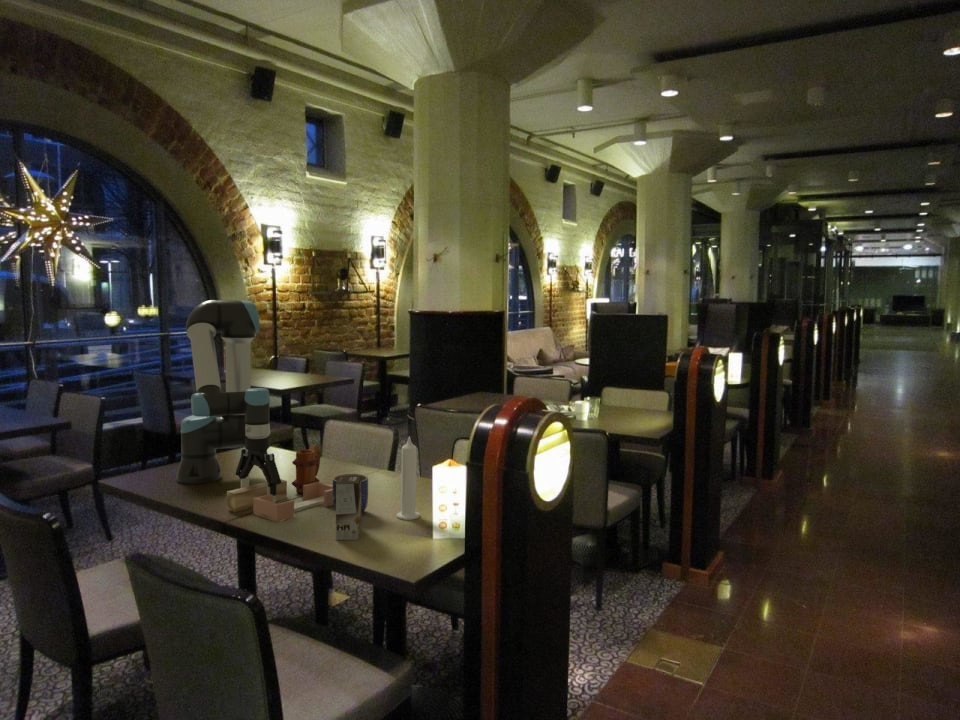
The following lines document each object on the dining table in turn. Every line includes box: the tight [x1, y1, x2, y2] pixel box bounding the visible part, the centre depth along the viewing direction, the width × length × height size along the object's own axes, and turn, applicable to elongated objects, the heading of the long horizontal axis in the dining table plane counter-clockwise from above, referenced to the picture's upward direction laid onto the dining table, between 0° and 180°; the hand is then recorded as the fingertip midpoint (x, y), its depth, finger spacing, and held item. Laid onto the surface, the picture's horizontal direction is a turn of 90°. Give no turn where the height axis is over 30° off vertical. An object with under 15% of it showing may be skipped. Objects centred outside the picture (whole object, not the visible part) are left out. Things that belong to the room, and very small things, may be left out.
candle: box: [396, 436, 421, 521], centre depth 213 cm, size 7×7×25 cm
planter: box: [332, 473, 369, 515], centre depth 216 cm, size 11×11×11 cm
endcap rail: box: [252, 481, 334, 523], centre depth 220 cm, size 11×25×5 cm, turn 144°
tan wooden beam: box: [226, 478, 288, 513], centre depth 224 cm, size 4×20×6 cm, turn 145°
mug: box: [291, 444, 321, 494], centre depth 241 cm, size 15×8×15 cm, turn 168°
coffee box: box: [335, 475, 362, 541], centre depth 196 cm, size 9×6×16 cm
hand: (258, 501), depth 224 cm, fingers open, 13 cm apart
